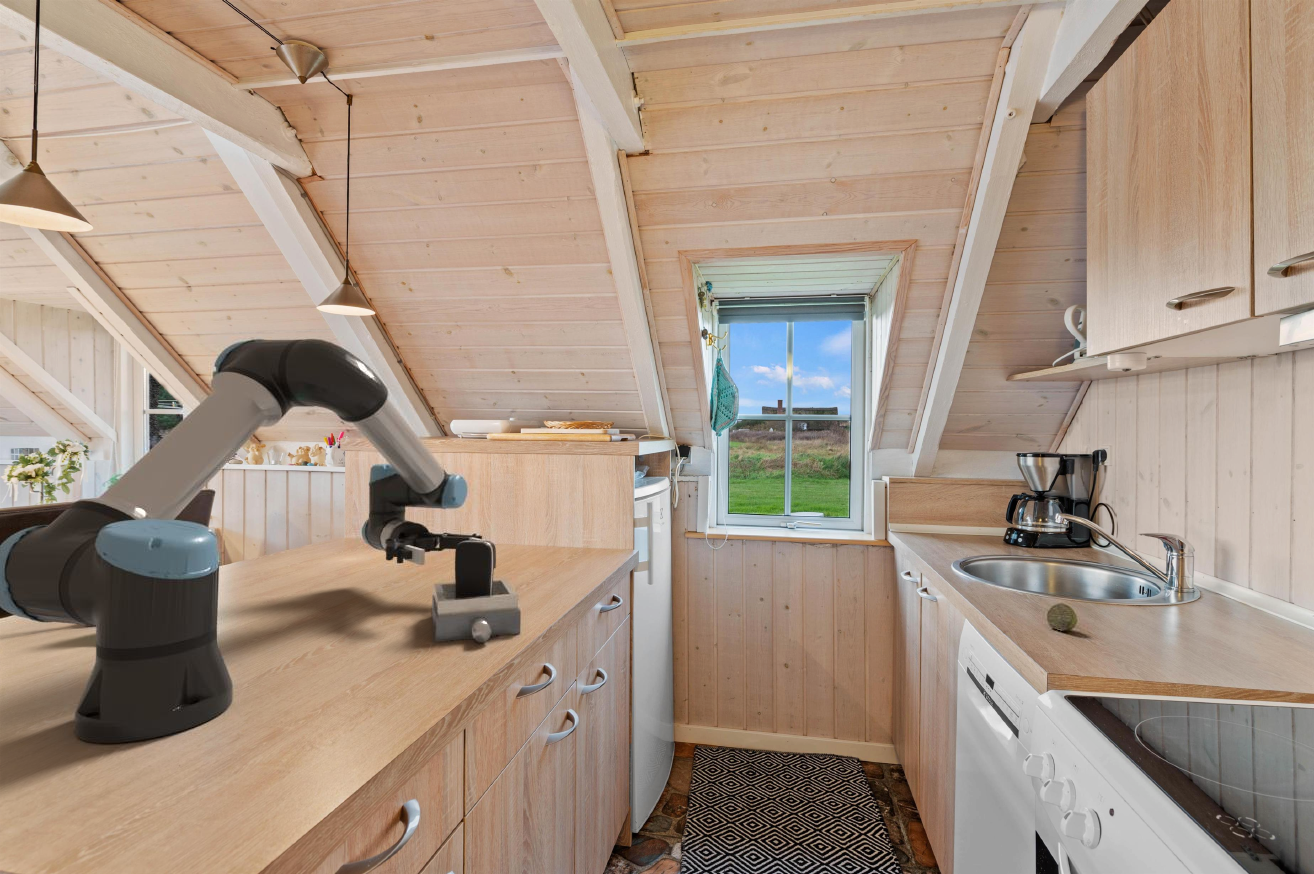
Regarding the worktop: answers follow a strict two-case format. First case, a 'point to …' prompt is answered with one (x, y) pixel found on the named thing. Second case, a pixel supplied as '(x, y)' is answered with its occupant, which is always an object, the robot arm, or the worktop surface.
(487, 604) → the grey drawer box
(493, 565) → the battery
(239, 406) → the robot arm
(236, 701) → the worktop surface
